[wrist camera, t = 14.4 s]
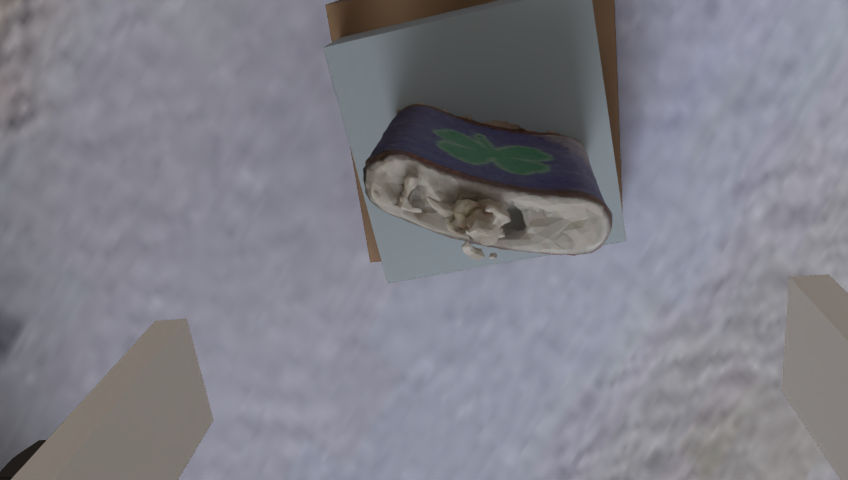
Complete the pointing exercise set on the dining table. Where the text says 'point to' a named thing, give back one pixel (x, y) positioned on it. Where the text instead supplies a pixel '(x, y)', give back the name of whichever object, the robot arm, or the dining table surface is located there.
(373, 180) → the flask
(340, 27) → the tower base block
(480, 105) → the tower top block
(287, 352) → the dining table surface
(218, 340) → the dining table surface
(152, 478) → the robot arm
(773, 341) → the dining table surface
